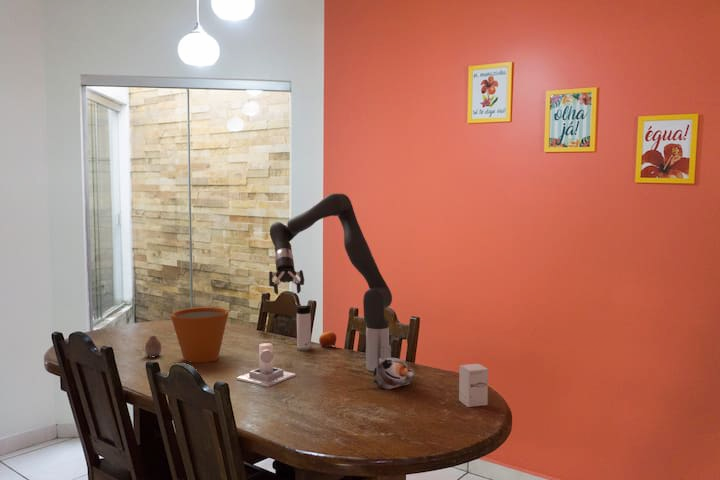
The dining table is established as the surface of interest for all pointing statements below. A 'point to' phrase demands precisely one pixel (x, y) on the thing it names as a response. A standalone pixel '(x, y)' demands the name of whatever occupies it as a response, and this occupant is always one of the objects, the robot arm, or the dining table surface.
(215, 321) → the flower pot
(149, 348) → the reddish brown teardrop
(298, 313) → the travel mug
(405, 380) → the lucky cat figurine
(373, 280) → the robot arm
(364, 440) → the dining table surface
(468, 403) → the supplement box
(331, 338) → the fruit
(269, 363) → the elbow
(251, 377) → the plate
